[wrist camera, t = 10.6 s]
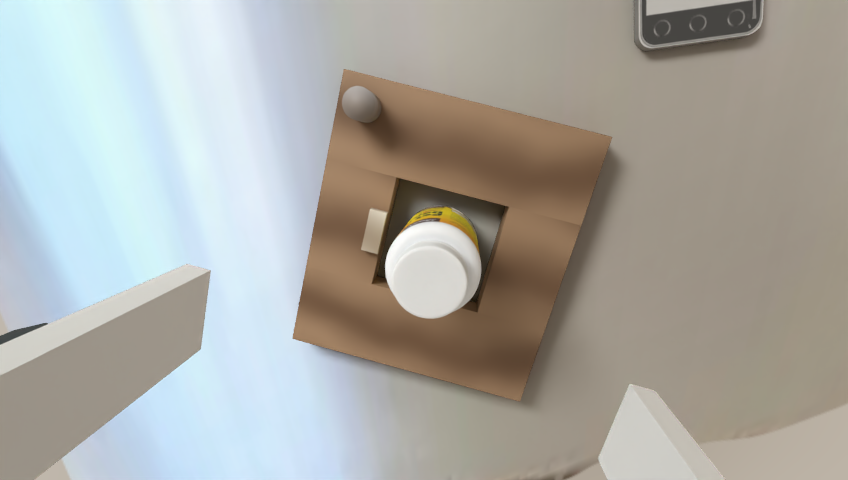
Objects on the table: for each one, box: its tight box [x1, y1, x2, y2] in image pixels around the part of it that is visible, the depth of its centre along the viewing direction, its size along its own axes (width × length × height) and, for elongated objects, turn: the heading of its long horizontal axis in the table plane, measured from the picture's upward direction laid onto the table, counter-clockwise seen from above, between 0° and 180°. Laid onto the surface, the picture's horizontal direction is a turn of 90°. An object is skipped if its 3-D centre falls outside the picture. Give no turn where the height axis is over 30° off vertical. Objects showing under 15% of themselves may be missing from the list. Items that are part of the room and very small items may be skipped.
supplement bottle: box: [385, 205, 481, 319], centre depth 26 cm, size 6×6×10 cm
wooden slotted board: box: [293, 69, 612, 401], centre depth 29 cm, size 20×18×4 cm
